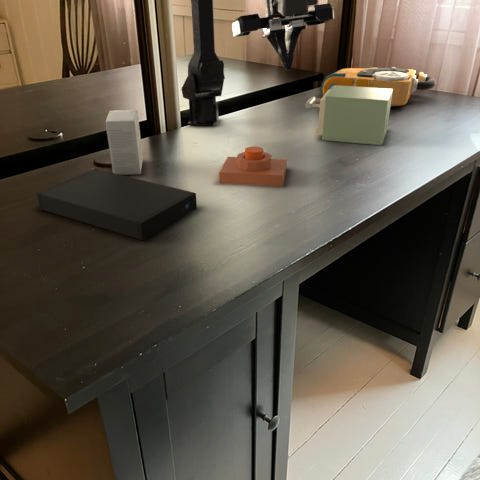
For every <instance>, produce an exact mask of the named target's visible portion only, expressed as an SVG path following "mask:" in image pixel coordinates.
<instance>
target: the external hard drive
mask: <svg viewBox="0 0 480 480" xmlns="http://www.w3.org/2000/svg"><path fill="white" fill-rule="evenodd" d="M36 197H37V202H38V205H39V209H40V210H42V211H46V212H49V213H52V214H55V215H58V216H62V217H65V218H68V219H70V220H71V219H72V220H75V221H78V222H81V223H84V224H87V225H91V226H94V227H97V228H100V229H104V230H107V231H110V232H114V233H117V234H120V235H124V236H127V237H131V238H132V239H133V238H134V239H137V240H140V241H143V242H144V241H146V240H148V239H149V238H151V237H152V236H155V235H156V234H158V233H159V232H161V231H162V230H164V229H166V228H168V227H169V226H171V225H173V224H174V223H176V222H178V221H180V220H181V219H183V218H184V217H186V216H188V215H189V214H191V213H193V212H194V211H196V210H197V209H198V206H197V203H198V202H197V193H196V192H193V191H190V190H189V191H188V190H185V189H180V188H177V187H172V186H169V185H165V184H160V183H157V182H153V181H152V182H151V181H147V180H144V179H140V178H136V177H131V176H128V175H119V174H115V173H113V172H111V171H106V170H102V169H98V168H94V169H91V170H89V171H87V172H84V173H82V174H79V175H77V176H74V177H72V178H70V179H68V180H65V181H62V182H60V183H57V184H55V185H53V186H50V187H48V188H46V189H44V190H41V191H39V192H37V193H36Z"/></svg>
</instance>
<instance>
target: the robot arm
mask: <svg viewBox="0 0 480 480" xmlns="http://www.w3.org/2000/svg"><path fill="white" fill-rule="evenodd" d="M318 1H319V0H264V2H265V3H264V4H265V13H264V17H260V14H259V13H252V14H244V15H240V16H238V17H237V18H235V19H234V20H233V21H232V23H231V29H232V36H233V38H238V37H244V36H249V35H250V34H251V32H256V31H259V30H263V34H261V35H262V36H261V38H263V39H265V38H266V39H267V40H268V42H269V43H270V45H271V46H272V49H274V52H275V53H276V55H277V57H278V59H279V61H280V62H281V65H282V66H283V68H284V70H285V71H286V72H287V71H291V70H292V68H293V62H294V58H295V53H296V47H297V43H298V41H299V37H300V35H301V33H302V31H304V30H306V29H307V27H311V26H318V25H322V24H326V23H328V22H330V21H333V20H335V18H336V17H335V9H334V7H333V5H332V4H331V2H327V3H320V4H318ZM190 9H191V10H190V11H191V25H192V43H193V53H192V55H191V57H190V60H189V62H188V64H187V77H186V79H185V80H184V82H183V85H182V87H181V88H180V89H181V94H182V98H183V99H186V100H188V107H189V108H188V109H189V121H188V123H187V124H188V125H189V126H204V127H207V126H208V127H213V126H215V125H216V123H217V122H218V120H219V102H217V97H222V93H223V88H224V82H225V79H226V77H225V64H224V61H223V60H222V59H221V60H220V58H219V56H218V54H217V53H216V43H215V42H216V41H215V20H214V0H190ZM283 26H284V27H285V28H283Z"/></svg>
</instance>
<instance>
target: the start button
mask: <svg viewBox="0 0 480 480" xmlns="http://www.w3.org/2000/svg"><path fill="white" fill-rule="evenodd" d="M244 152H245V159H248V160H260V159H263V155H264V152H265V150H264V148H263V147H261V146H248V147H245V148H244Z"/></svg>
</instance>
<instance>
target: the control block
mask: <svg viewBox="0 0 480 480" xmlns="http://www.w3.org/2000/svg"><path fill="white" fill-rule="evenodd" d="M287 166H288V159H287V158H272V155H271V153H269V152H265V151H264V155H263V159H260V160H248V159H245V151H242V152H240V153H238V154H237V156H227V157H226V159H225V161H224V163H223V165H222V166H221V168H220V170H219V173H218V175H219V184H228V185H246V186H247V185H248V186H266V187H267V186H268V187H283V186H284V181H285V177H286V173H287Z"/></svg>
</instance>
